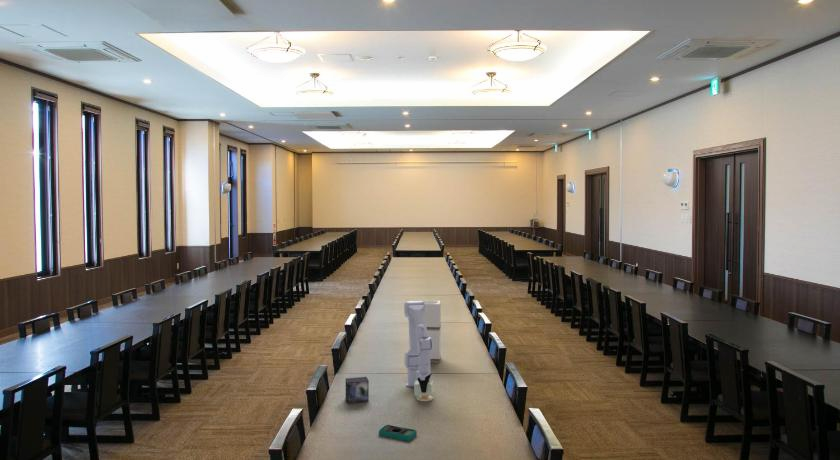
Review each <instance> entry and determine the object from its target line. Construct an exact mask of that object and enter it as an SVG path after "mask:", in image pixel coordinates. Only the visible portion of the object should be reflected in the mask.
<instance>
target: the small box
mask: <svg viewBox="0 0 840 460" xmlns="http://www.w3.org/2000/svg"><path fill="white" fill-rule="evenodd" d="M369 384H370V383H369V379H368V377H367V376H360V377H349V378H347V377H346V378H345V398H344V399H345V401H346V404H354V403H353V402H357V403H365V401H366V402H367V401H368V402H369V401H370V400H369V398H370V397H369V396H370V395H369V394H370V393H369V392H370V391H369V389H370V387H369V386H370V385H369ZM368 402H367V403H368Z"/></svg>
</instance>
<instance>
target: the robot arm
mask: <svg viewBox="0 0 840 460" xmlns="http://www.w3.org/2000/svg"><path fill="white" fill-rule="evenodd" d="M423 301H424V300H415V301H414V300H413V301H408V300H407V301H405V302H404V305H403V306H404V307H403V308H404V317H406V318H407V320H408V333H409V334H408V337H409V349H408V350H406V351H405V353H404V362H403V363H404V366H405V368H406V369H407V382H406V384H405V386H406V387H414V383H415V381H418V382H419V384H420V388H421V392H422V393H426V390H427V384H428V381H430V379H431V376H432V372H431V362H430V349H432V341H431V338H430V336H428V332H427V328H426V326H424V324H423V317H422V314H423V313H424V311H425V304H424V302H423Z"/></svg>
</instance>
